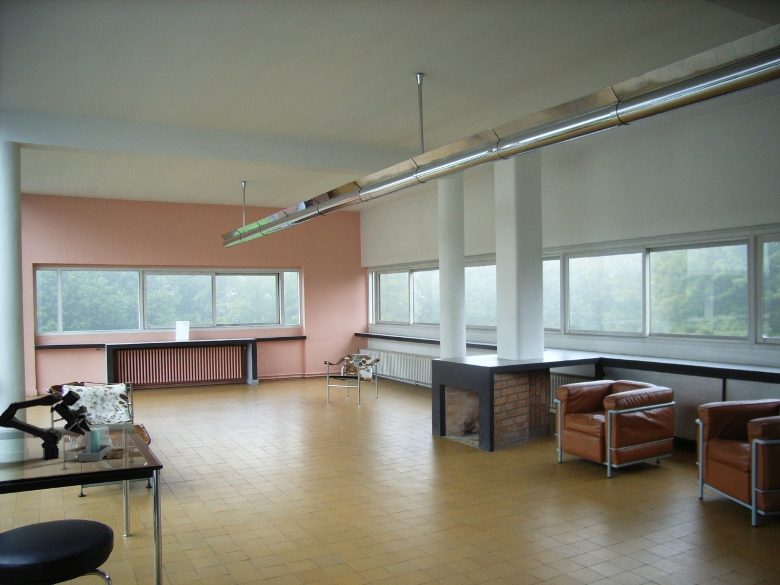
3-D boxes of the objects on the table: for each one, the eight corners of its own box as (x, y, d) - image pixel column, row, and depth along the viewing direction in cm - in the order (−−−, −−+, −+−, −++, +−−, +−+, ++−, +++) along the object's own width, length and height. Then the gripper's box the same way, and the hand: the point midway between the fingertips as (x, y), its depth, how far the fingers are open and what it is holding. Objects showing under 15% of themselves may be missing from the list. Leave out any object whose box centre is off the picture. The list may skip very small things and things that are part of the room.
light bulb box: (102, 444, 356) (102, 425, 356) (109, 445, 352) (109, 426, 352) (84, 448, 347) (84, 428, 347) (91, 449, 344) (91, 430, 344)
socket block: (106, 458, 326) (106, 452, 326) (111, 454, 334) (111, 448, 334) (122, 457, 327) (122, 452, 327) (127, 453, 335) (127, 448, 335)
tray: (78, 461, 320) (78, 453, 320) (90, 452, 337) (90, 445, 337) (100, 460, 321) (100, 453, 321) (111, 452, 338) (111, 444, 338)
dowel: (92, 456, 326) (92, 432, 326) (89, 455, 329) (89, 430, 329) (101, 455, 329) (100, 430, 329) (98, 453, 332) (97, 429, 332)
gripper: (71, 404, 319) (93, 425, 321) (83, 398, 338) (104, 418, 339) (54, 419, 318) (76, 441, 319) (67, 413, 336) (88, 433, 338)
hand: (87, 432), depth 329 cm, fingers open, 9 cm apart
